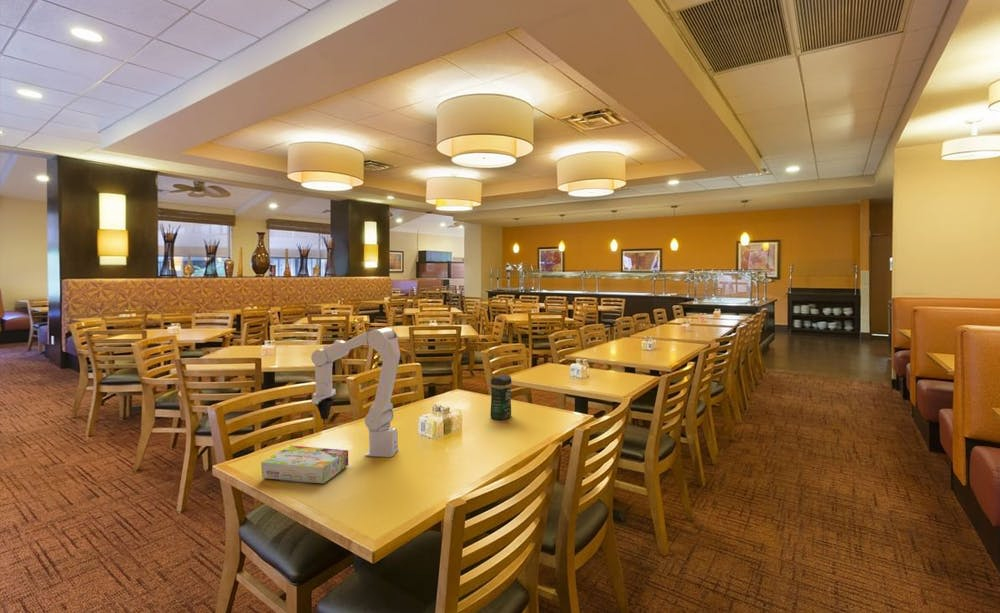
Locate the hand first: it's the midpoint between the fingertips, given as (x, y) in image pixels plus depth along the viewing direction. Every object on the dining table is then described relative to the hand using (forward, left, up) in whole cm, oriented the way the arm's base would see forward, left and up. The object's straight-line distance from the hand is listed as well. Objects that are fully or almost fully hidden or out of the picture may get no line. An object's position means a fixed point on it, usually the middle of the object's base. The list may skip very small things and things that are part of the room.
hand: (324, 418), depth 176 cm
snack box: (-6, +16, -7) cm, 18 cm away
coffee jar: (-60, -43, -11) cm, 75 cm away
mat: (-7, +24, -10) cm, 27 cm away
